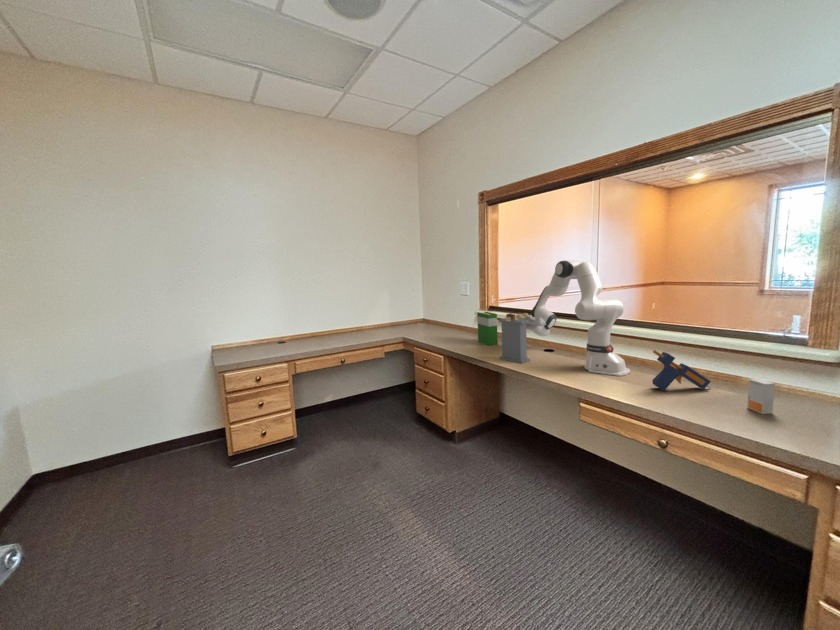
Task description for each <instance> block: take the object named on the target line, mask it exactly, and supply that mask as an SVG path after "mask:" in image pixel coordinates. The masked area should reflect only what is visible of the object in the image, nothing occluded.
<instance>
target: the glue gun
mask: <svg viewBox="0 0 840 630" xmlns="http://www.w3.org/2000/svg"><path fill="white" fill-rule="evenodd" d="M652 353H653V354H654V355H656V356H658V357H657V359H656V360H657V361H658V362H660V363H661V364H662V365H663V368H662V370H661V371H660V372H658V373H657V375H656V376H655V377H654V378H653V379H652V381H651V382H652V385H654V386H655V387H657V389H658V388H659V389H660V390H661V391H663V392H665V391H666V390H667V389H668V387H669V386H670V385H671V384H672V383H673V381H675V380H676V382H677V383H679V384H682V378H684V379H686V380H687V381H688V382H689V383H690V382H691V383H692V384H694V385H695V386H696V387H698V388H700V389H702V390H706V388H708V389H710V390H712V387H711V386H709V385H710V383H711V380H710V379H708V378H707V377H706V376H704V375H702V374H701V373H699V372H698V371H696V370H695V369H693V368H691V367H690V366H688V365H686V364H685V363H681V362H680V364H678V363H676V362H674V361H675V359H676V357H675V356H673V355H671V354H670V353H667V352H666V351H663V352H662V353H660V352H659V351H657V350H656V349H655V350H652Z"/></svg>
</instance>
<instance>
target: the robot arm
mask: <svg viewBox="0 0 840 630" xmlns="http://www.w3.org/2000/svg"><path fill="white" fill-rule="evenodd" d="M571 280H577V284H578V287H579V289H580V294H581V296H580V297H581V298H580V300H579V302H578V303H577V304H576V306H575V308H574V313H575V316H576V317H577V318H578V319H580V320H582V321H596V322H595V323H594V324H593V325H592V326H590V327H589V329H587V343H586V359H585V362H584V363H585V364H584V366H583V368H584V369H585V370H587V371H588V372H589V373H595V374H602V375H610V376H616V377H617V376H618V377H620V376H621V377H623V376H626V375H629V374H630V372H631V370H630V368H628V367H626V362H625V359H624V358H623V357H621V356H620V355H619V354H617V353H616V352H615V351H614V349H615V345H613V346H612V344H611V330H612V327H613V326H614V324H615V322H616V320H618V318H620V317H622V315H623V313H624V310H625V306H624V304H623V303H622V301H621V300H619V299H613V298H607V299H606V298H605V299H602V298H601V299H598V295H600V293H602V291H603V285H602V283H601V279H600V277H599V274H598V273H597V270H596V268H595V267H594V265H593V264H592V263H591V262H588V261H579V260H560V261H558V262H557V263H556V265H555V267H554V273H553V276H552V278H551V280H550V283H549V284H548V285H546V286H545V287H544V288H543V290H542V292H541V293H540V295H539V296H538V297H539V298H538V299H537V302H536V303H535V305H534V306H533V307H532V310H531V315H528V317H526V318H522V320H529V323H526V330H529V331H531V332H533V333H534V334H535V335H537V336H539V337H546V336H548V335H549V334H550V332H551V329H552V328H553V327H554V326H555V324H556V322H557V315H556V314H555V313H553V312H552V311H550V310H548V309H547V308H546V306H545V305H546V303H547V301H548V299H549V297H560V296H563V295H565V294H566V293H567V291H568V288H569V285H570V282H571Z"/></svg>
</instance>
